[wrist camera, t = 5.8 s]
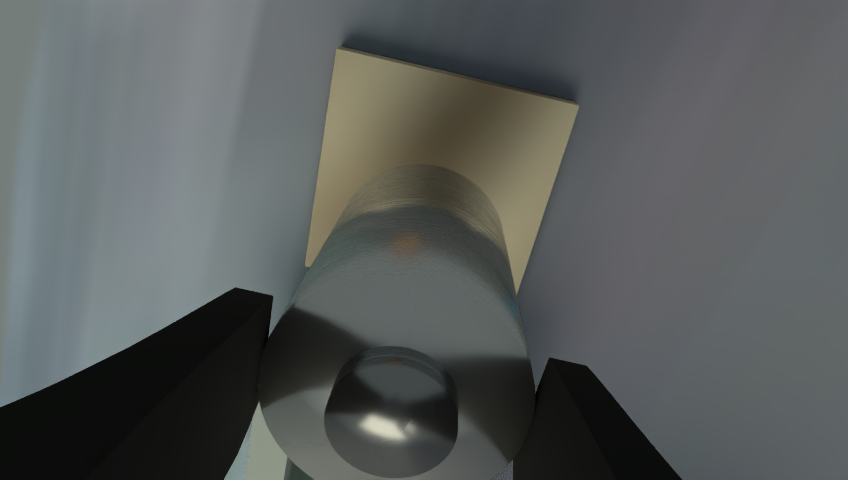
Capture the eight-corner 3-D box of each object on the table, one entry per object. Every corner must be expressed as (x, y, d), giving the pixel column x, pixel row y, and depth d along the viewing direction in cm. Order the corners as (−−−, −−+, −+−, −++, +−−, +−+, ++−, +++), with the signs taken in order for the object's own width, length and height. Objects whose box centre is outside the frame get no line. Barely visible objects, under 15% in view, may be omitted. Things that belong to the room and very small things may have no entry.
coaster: (576, 102, 17) (579, 105, 16) (509, 303, 19) (510, 312, 19) (340, 46, 16) (336, 48, 16) (309, 258, 19) (304, 266, 19)
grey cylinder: (525, 188, 14) (583, 336, 8) (478, 334, 16) (492, 560, 9) (355, 145, 14) (264, 259, 8) (324, 297, 16) (228, 500, 9)
